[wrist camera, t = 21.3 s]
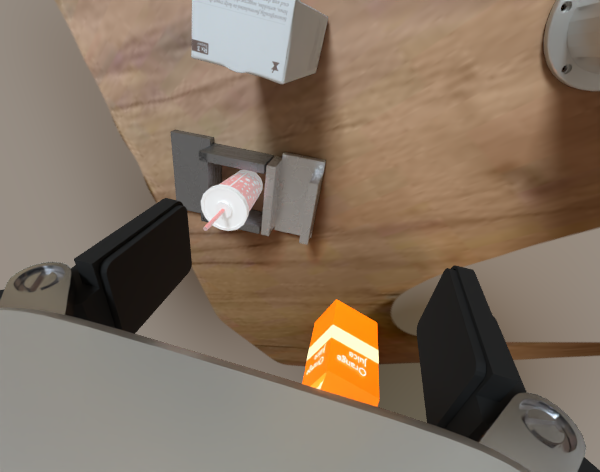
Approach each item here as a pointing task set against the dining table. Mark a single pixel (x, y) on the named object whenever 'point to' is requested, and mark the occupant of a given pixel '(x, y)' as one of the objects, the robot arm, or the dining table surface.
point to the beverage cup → (231, 200)
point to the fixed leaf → (210, 170)
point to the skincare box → (259, 37)
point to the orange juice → (344, 355)
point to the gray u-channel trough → (292, 194)
